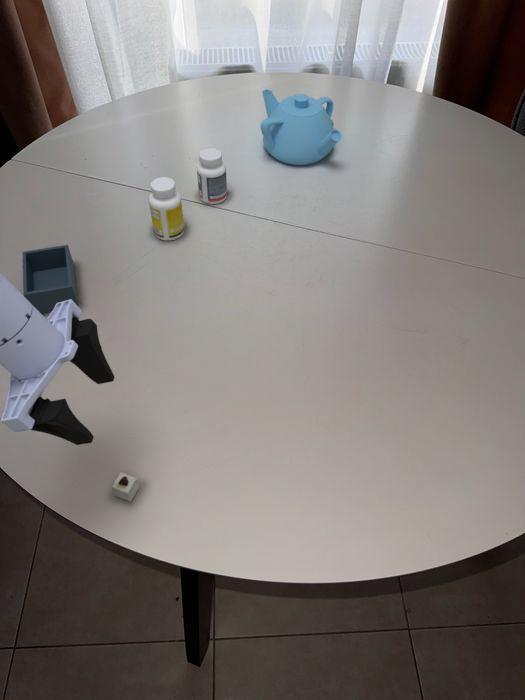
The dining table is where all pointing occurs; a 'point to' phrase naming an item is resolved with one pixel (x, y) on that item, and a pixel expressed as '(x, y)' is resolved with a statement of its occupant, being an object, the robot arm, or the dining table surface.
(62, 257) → the bin
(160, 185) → the supplement bottle
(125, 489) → the cube with brown bumps
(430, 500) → the dining table surface
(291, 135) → the teapot
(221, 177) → the pill bottle
